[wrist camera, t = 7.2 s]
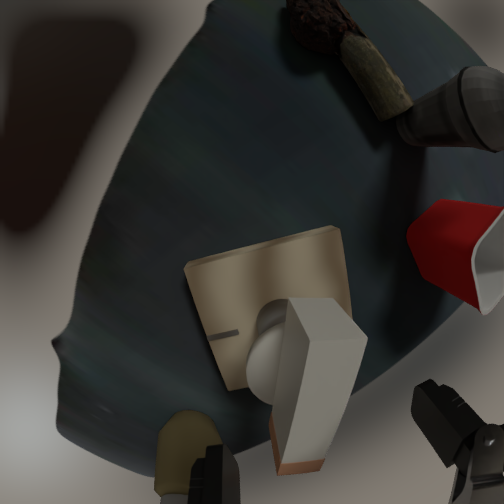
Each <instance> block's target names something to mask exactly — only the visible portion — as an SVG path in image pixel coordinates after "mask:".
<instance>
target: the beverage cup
mask: <svg viewBox="0 0 504 504" xmlns="http://www.w3.org/2000/svg"><path fill="white" fill-rule="evenodd" d="M396 126H397V129H398V132H399V134H400V136H401V137H402V139H403V140H404V141H405V142H406V143H408V144H410V145H411V146H423V147H473V148H477V149H482V150H486V151H490V152H494V153H496V152H499V151H502V150H504V74H503V73H502V72H500V71H498V70H497V69H494V68H491V67H485V66H473V67H465V68H463V69H462V70H461V71H460V72H459V73H458V74H457V75H455V76H454V77H453V78H452V79H450V80H449V81H448V82H447V83H445V84H443V85H441V86H440V87H438V88H436V89H434V90H432V91H431V92H429V93H427V94H425V95H424V96H422V97H420V98H418V99H417V100H415V101H414V105H413V106H411V107H410V108H409V109H407V110H406V111H404V112H402V113H401V114H399V115H397V117H396Z"/></svg>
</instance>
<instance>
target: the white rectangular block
mask: <svg viewBox="0 0 504 504" xmlns="http://www.w3.org/2000/svg"><path fill="white" fill-rule="evenodd" d="M367 339H368V337H367V336H366V335H365V334H364V333H363V332H362V330H361V329H360V328H359V327H358V326H357V325H356V324H355V322H354V321H353V320H352V319H351V318H350V317H349V316H348V314H347V313H346V312H345V311H344V310H343V309H342V308H341V306H340V305H339V304H338V303H337V302H336V301H335V300H334V299H333V298H293V297H288V305H287V313H286V321H285V322H282V323H280V324H277V325H275V326H273V327H271V328H269V329H268V330H266V331H265V332H264V333H262V334H261V335H260V336H259V337H258V338H257V339H256V340H255V341H254V343H253V344H252V346H251V347H250V349H249V351H248V354H247V358H246V376H247V382H248V385H249V388H250V389H251V391H252V392H253V394H254V395H255V396H256V397H258V398H259V399H260V400H262V401H263V402H265V403H267V404H270V405H273V408H272V412H271V415H270V421H269V430H270V436H271V442H272V448H273V454H274V460H275V466H276V472H277V476H278V475H291V474H300V473H309V472H315V471H320V469H321V466H322V464H323V462H324V460H325V456H326V454H327V452H328V449H329V447H330V444H331V443H332V440H333V438H334V436H335V433H336V431H337V428H338V426H339V423H340V421H341V418H342V416H343V413H344V411H345V408H346V405H347V402H348V400H349V397H350V394H351V391H352V388H353V385H354V382H355V379H356V376H357V373H358V370H359V367H360V364H361V360H362V357H363V354H364V350H365V347H366V343H367Z"/></svg>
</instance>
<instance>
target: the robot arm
mask: <svg viewBox="0 0 504 504" xmlns="http://www.w3.org/2000/svg"><path fill="white" fill-rule="evenodd" d="M411 414H412V417H413V419H414V421H415V422H416V424H417V425H418V427H419V428H420V429H421V431H422V432H423V434H424V435H425V437H426V438H427V440H428V441H429V442H430V444H431V445H432V447H433V448H434V450H435V451H436V453H437V454H438V456H439V457H440V458H441V460H442V462H443V463H444V465H445V466H446V468H448V467H450V466H451V465H453V464H454V463H455V465H456V466H457V469H456V473H455V478H454V484H453V488H452V492H451V496H450V500H449V504H504V476H503V472H504V424H502V425H496V424H487V423H485V422H484V421H483V420H482V419H481V418H480V417H479V416H478V415H477V414H476V412H475V411H474V410H473V409H472V408H471V407H470V406H469V405H468V404H467V403H465V401H464V400H463V399H462V397H460V396H459V394H458V393H457V392H456V391H455V390H454V389H453V388H451V387H449V386H446V385H444V384H443V385H441V386H438V385H437V384H436V383H435V382H434V381H433V380H432V379H429V380H427V381H425V382H423V383H421V384H419V385H417V386H416V387H415V388H414V393H413V399H412V405H411ZM239 479H240V478H239V468H238V464H237V462H236V460H235V458H234V456H233V455H232V453H231V451H230V450H229V448H228V446H227V445H226V444H217V445H208V446H207V447H206V453H205V458H197V459H196V461H195V463H194V464H193V466H192V468H191V474H190V483H189V487H190V488H189V492H188V501H187V504H240V480H239Z"/></svg>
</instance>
